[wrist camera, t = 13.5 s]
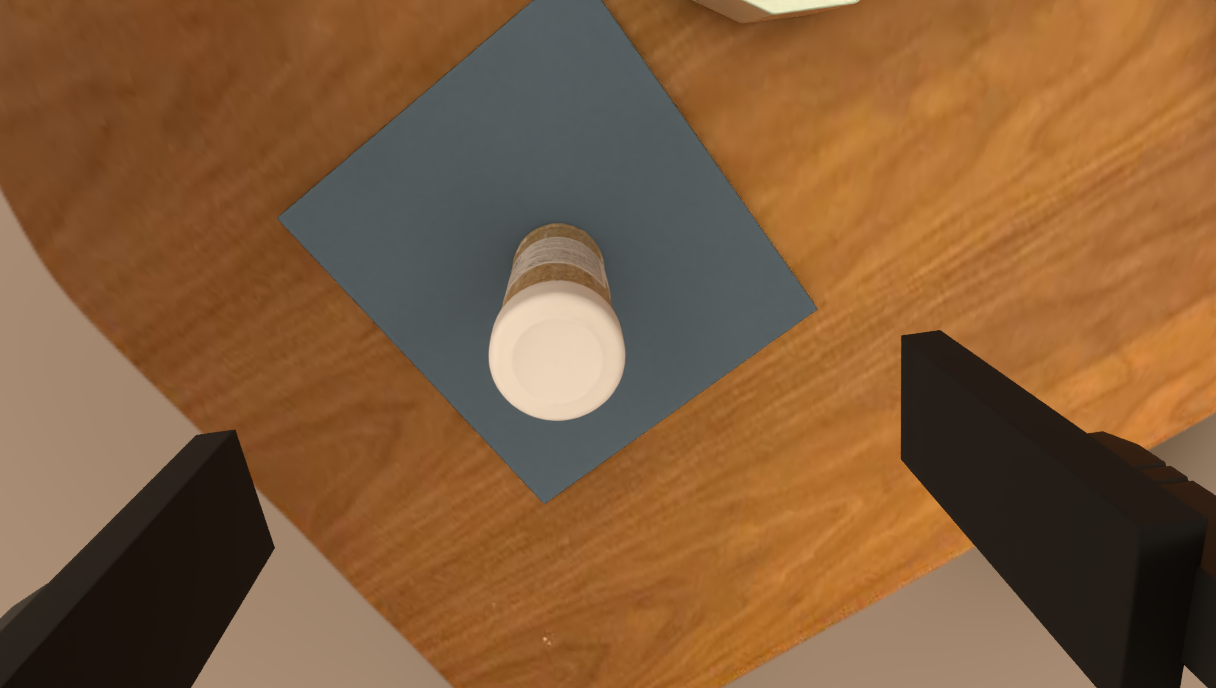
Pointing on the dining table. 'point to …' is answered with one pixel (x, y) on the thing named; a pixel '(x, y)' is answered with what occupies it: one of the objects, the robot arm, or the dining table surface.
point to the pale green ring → (770, 8)
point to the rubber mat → (537, 196)
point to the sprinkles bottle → (557, 328)
